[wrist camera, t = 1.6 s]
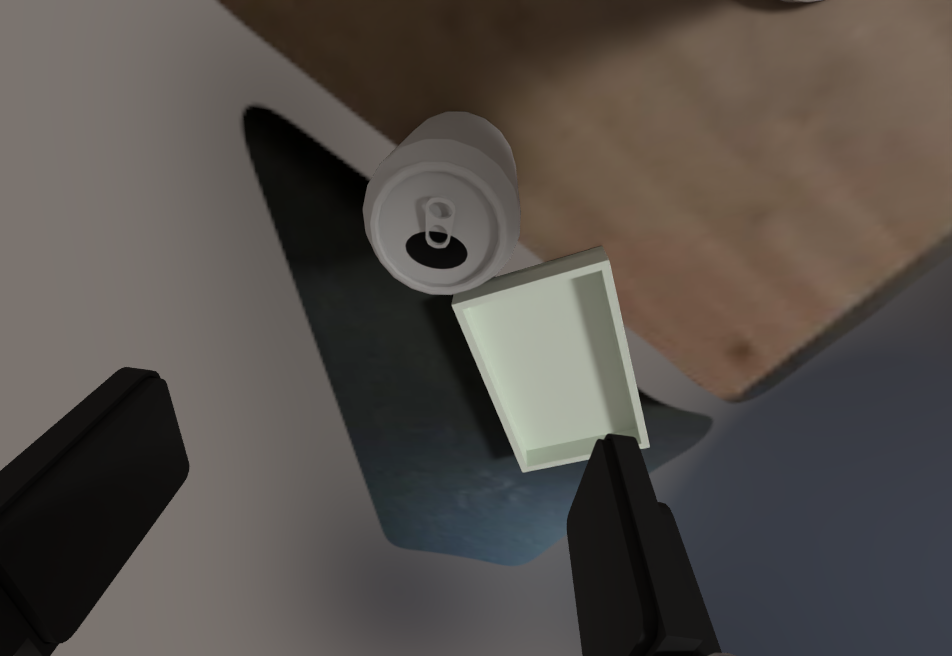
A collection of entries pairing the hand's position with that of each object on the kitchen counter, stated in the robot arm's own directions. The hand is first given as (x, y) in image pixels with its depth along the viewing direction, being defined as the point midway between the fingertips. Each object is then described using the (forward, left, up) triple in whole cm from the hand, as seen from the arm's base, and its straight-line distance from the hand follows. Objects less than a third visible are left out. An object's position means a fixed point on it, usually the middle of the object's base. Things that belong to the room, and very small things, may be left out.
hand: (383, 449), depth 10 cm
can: (0, 0, -25) cm, 25 cm away
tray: (+14, +10, -24) cm, 29 cm away
